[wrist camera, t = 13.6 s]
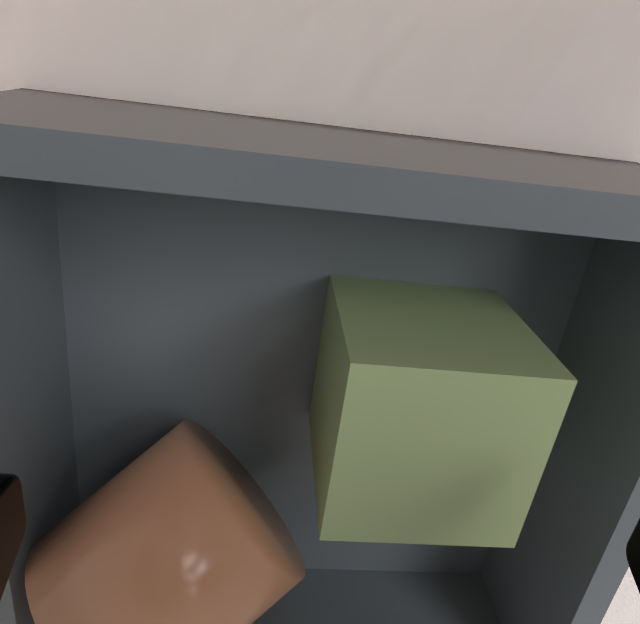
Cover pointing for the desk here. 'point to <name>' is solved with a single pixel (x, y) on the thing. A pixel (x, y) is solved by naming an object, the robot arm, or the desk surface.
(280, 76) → the desk surface
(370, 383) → the green block
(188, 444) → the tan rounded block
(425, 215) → the bin
